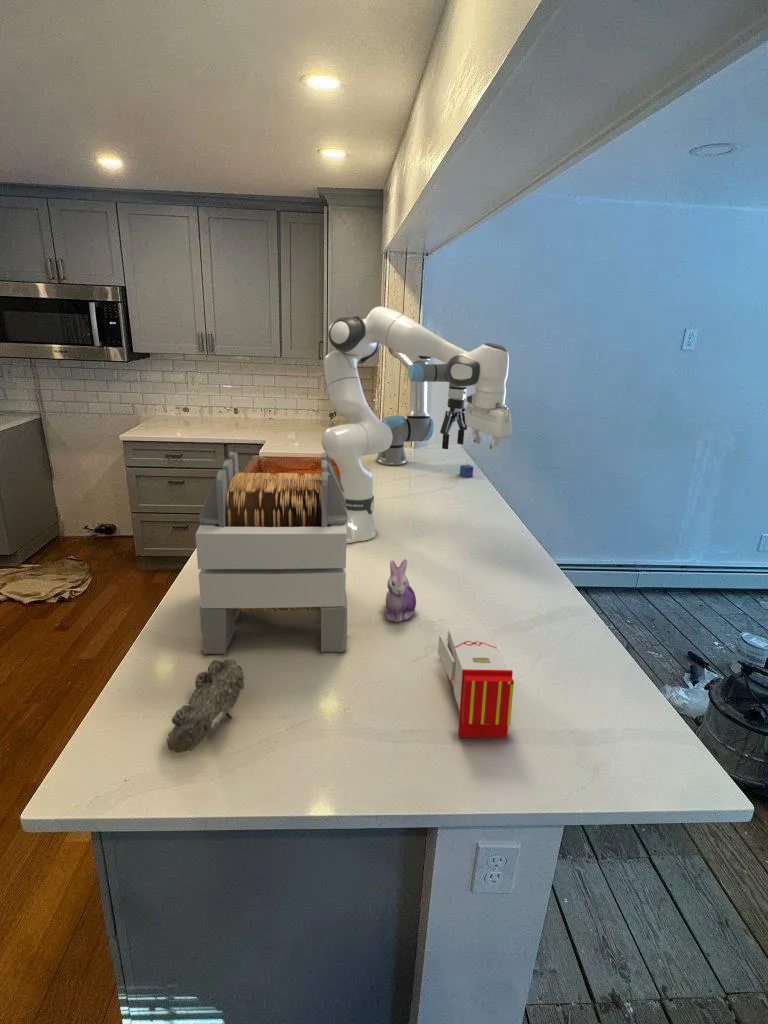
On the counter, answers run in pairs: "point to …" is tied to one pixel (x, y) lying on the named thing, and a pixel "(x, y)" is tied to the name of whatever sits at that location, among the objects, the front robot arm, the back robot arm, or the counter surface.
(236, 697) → the fossil
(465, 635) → the toy
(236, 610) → the transformer
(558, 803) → the counter surface
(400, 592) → the figurine
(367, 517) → the front robot arm
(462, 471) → the brick
